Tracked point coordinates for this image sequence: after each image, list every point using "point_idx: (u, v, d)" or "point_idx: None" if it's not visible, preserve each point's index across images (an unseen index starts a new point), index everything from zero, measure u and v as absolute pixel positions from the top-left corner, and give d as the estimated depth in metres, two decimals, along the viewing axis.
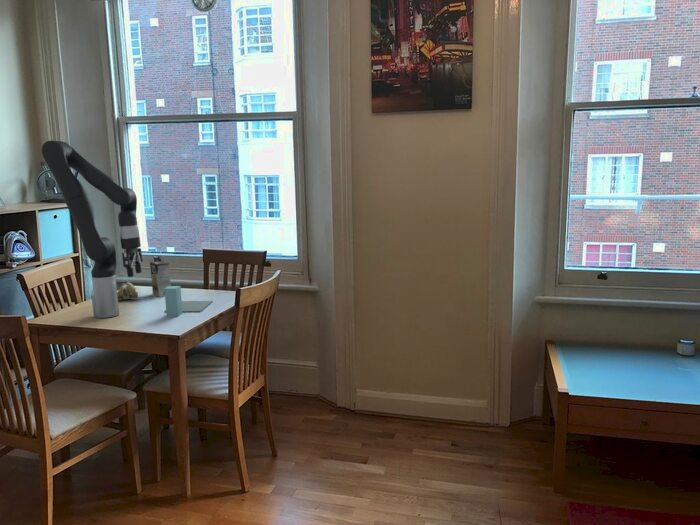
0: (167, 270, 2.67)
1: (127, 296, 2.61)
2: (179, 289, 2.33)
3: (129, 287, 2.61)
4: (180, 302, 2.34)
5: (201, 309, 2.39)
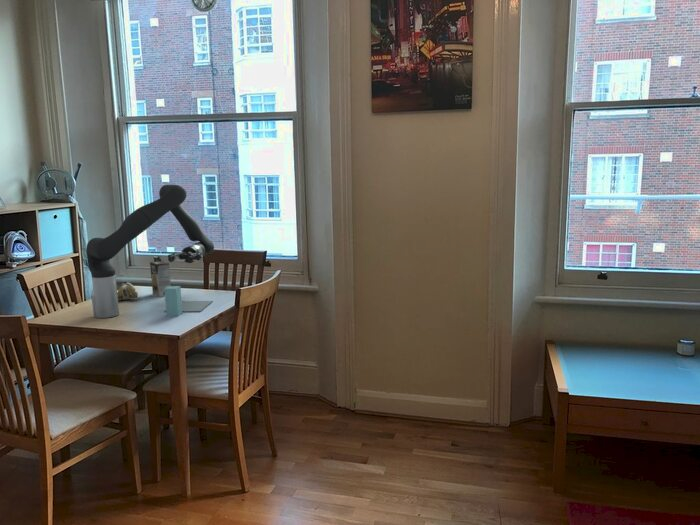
0: (167, 270, 2.67)
1: (127, 296, 2.61)
2: (179, 289, 2.33)
3: (129, 287, 2.61)
4: (180, 302, 2.34)
5: (201, 309, 2.39)
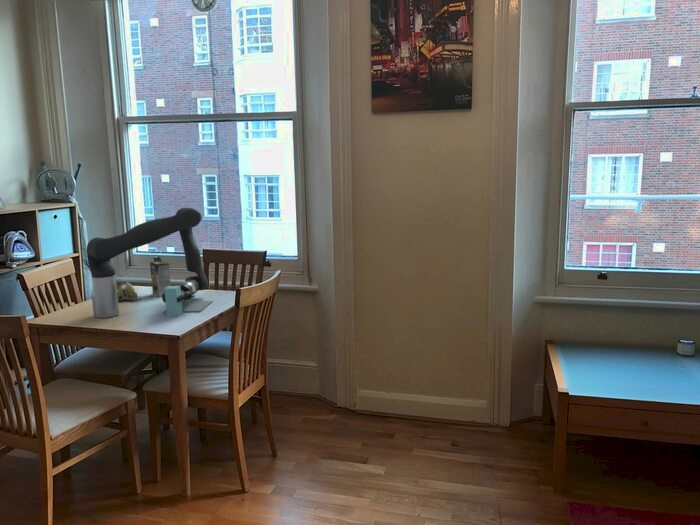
0: (167, 270, 2.67)
1: (126, 296, 2.60)
2: (179, 289, 2.33)
3: (128, 287, 2.60)
4: (180, 302, 2.34)
5: (201, 309, 2.39)
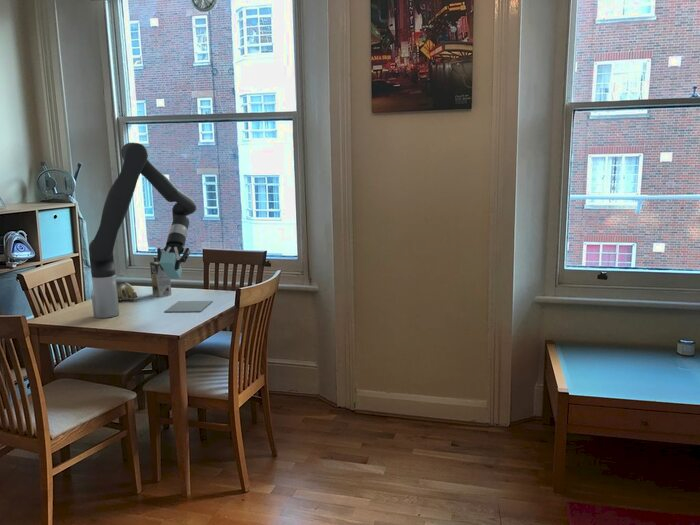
0: None
1: (126, 297, 2.60)
2: (174, 257, 2.27)
3: (128, 287, 2.60)
4: None
5: (201, 309, 2.39)
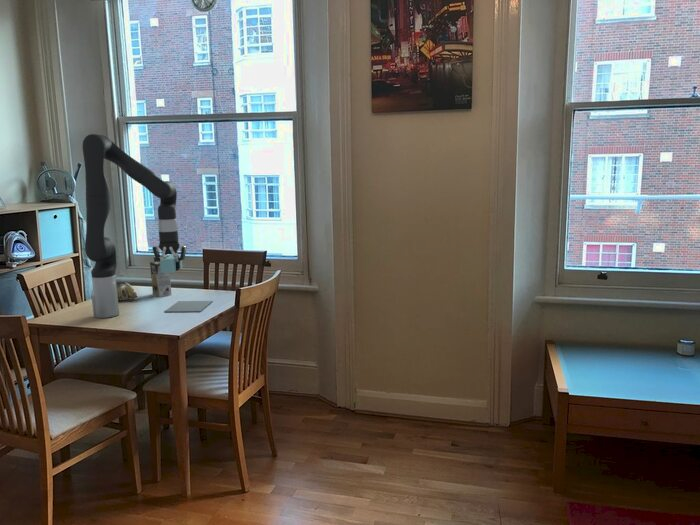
0: None
1: (126, 297, 2.59)
2: (173, 263, 2.26)
3: (127, 288, 2.60)
4: None
5: (201, 309, 2.39)
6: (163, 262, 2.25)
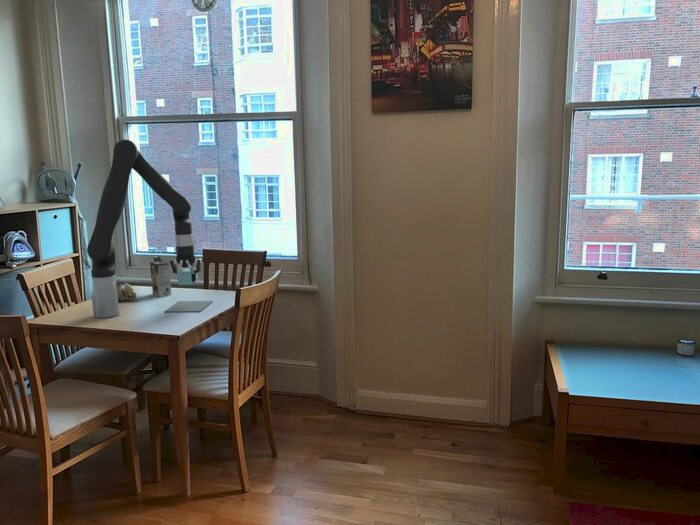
0: (167, 270, 2.67)
1: (125, 297, 2.59)
2: (189, 275, 2.40)
3: (127, 288, 2.60)
4: None
5: (201, 309, 2.39)
6: (180, 275, 2.39)
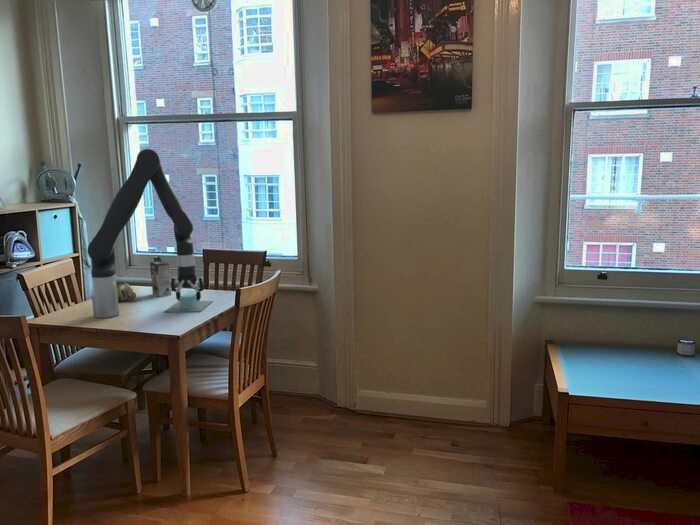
0: (167, 270, 2.67)
1: (125, 297, 2.59)
2: (191, 299, 2.42)
3: (127, 288, 2.59)
4: (195, 296, 2.47)
5: (201, 309, 2.39)
6: (182, 299, 2.41)
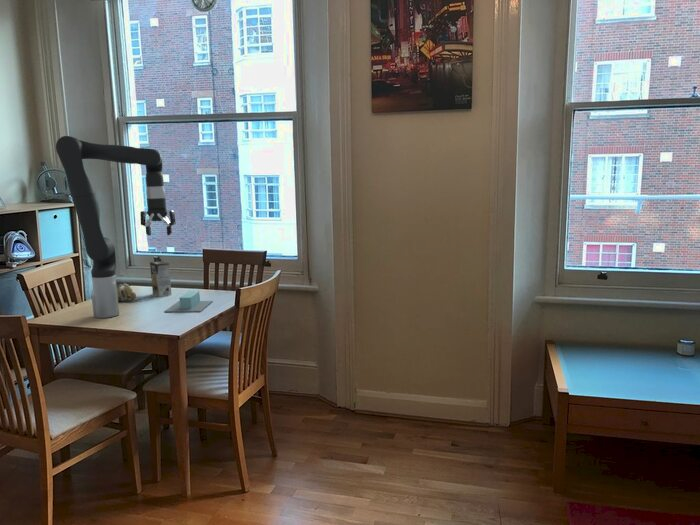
0: (167, 270, 2.67)
1: (125, 297, 2.59)
2: (191, 299, 2.42)
3: (126, 288, 2.59)
4: (195, 296, 2.47)
5: (201, 309, 2.39)
6: (182, 299, 2.41)
